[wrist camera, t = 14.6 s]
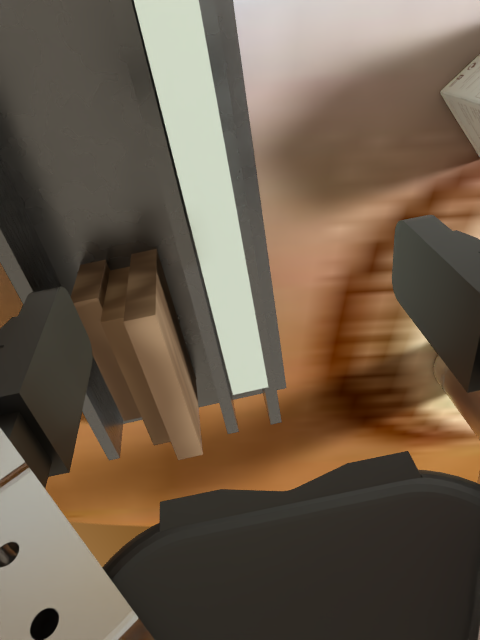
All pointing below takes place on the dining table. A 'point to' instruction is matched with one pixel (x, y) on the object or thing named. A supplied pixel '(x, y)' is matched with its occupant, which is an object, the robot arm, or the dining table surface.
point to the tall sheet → (204, 177)
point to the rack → (120, 178)
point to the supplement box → (466, 101)
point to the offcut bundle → (141, 348)
